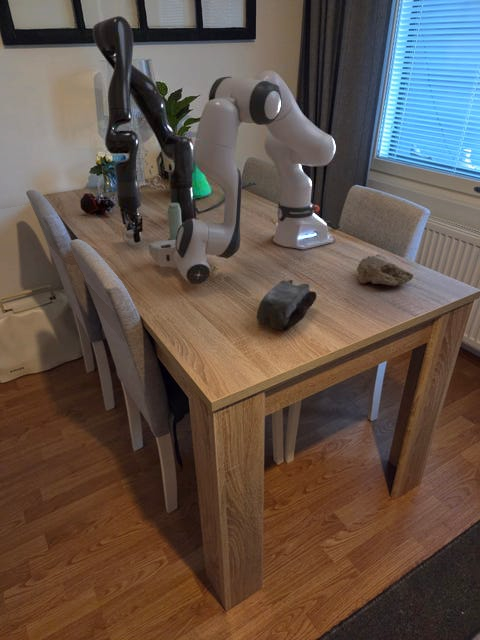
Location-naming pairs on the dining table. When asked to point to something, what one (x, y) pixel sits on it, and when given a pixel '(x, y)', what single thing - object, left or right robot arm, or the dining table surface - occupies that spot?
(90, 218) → the dining table surface
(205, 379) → the dining table surface
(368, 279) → the artifact
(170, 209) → the bottle
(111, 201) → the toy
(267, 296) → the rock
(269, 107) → the right robot arm
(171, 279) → the dining table surface
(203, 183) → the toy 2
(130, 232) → the lid
